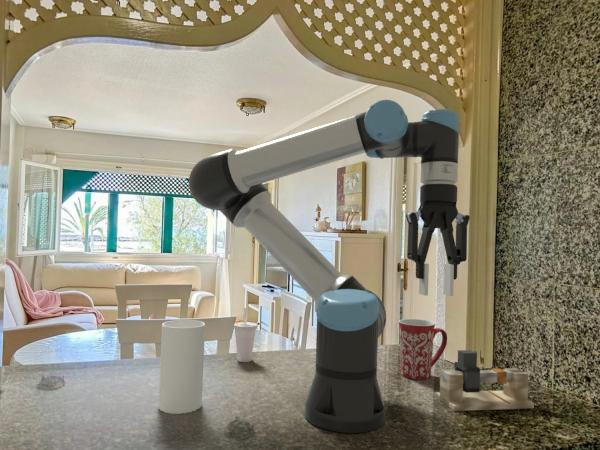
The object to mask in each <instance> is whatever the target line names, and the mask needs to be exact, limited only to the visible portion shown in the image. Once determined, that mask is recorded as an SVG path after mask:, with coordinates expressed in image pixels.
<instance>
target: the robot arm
mask: <svg viewBox="0 0 600 450" xmlns="http://www.w3.org/2000/svg"><path fill="white" fill-rule="evenodd" d="M459 125H460V124H459V115H458V113H456V111H454V110H451V109H446V108H438V109H437V108H435V109H431V110H427V111H426V112H424V113H423V114H422V118H421V121H414V122H411V121H409V119H408V116H407V114H406V112H405V111H404V108H403V107H402V105H400V104H399V103H398V102H396V101H394V100H391V99H381V100H377V101H376V102H374V103H373V104H372V105H370V106H369V108H367V110H366V111H364V112H361V113H359V114H355V115H353V116H350V117H346V118H343V119H340V120H337V121H333V122H330V123H326V124H324V125H321V126H317V127H313V128H311V129H308V130H305V131H304V130H303V131H301V132H298V133H295V134H292V135H289V136H285V137H282V138H279V139H275V140H271V141H269V142H266V143H263V144H260V145H256V146H253V147H250V148H247V149H243V150H238V149H237V148H229V149H227V150H223V151H220V152H217V153H215V154H214V153H213V154H211V155H209V156H206V157H203V158H202V159H201V160H199V161H198V162H197V163H196V164H195V165H194V166H193V167H192V169H191V171H190V174H189V178H188V187H189V188H188V189H189V191H190V193H191V196H192V198H193V200H194V201H196V203H198V204H199V205H201V206H202V207H203V208H205V209H208V210H209V209H210V210H214V211H219V212H220V213H221V214H223V216H224V217H225V218H226V219H227V220H228V221H229V222H230V223H231V224H232V225H233V226H234V227H235V228H244V229H245V230H247V231H248V233H249V234H250V235H251V236H252V237H253V238H254V239H255V240H256V241H257V242H258V243H259V245H261V247H263V248H264V249H265V251H266V252H267V253H269V255H270V256H271V257H272V258H273V259H275V261H276V262H277V263H278V265H280V266H281V267H282V268H283V270H285V271H286V273H287V274H288V275H289V276H290V277H291V278H293V280H294V281H295V282H296V283H297V284H298V286H299V287H301V288H302V289H303V291H305V293H306V294H307V295H308V296H310V298H311V299H312V300H313V301H314V312H315V313H316V338H315V339H316V344H315V372H314V373H315V374H314V376H313V379H312V382H311V385H310V388H309V391H308V392H307V393H308V394H307V396H306V399H305V402H304V403H305V404H304V417H305V419H306V420H307V421H308V422H309V423H310V424H312V425H314V426H316V427H318V428H321V429H324V430H327V431H332V432H337V433H348V434H357V433H358V434H359V433H360V434H361V433H367V432H372V431H375V430H377V429H379V428H381V427H382V426H383V425H384V424H385V421H386V407H385V406H386V405H385V403H384V400H383V396H382V393H381V389H380V386H379V382H378V376H377V373H378V345H379V343H378V341H379V337H380V336H381V335H382V333H383V332H384V330H385V326H386V324H387V312H386V308H385V305H384V302H383V301H382V300H381V299H380V297H379V296H378V295H377V294H376V293H374V292H373V291H372V290H369V289H368V288H367V289H366V287H365V286H364V285H363V284H362V283H360V282H359V280H357V278H356V277H355V276H353V274H342V273H341V272H340V271H339V270H338V269H337V268H336V267H335V266H334V265H333V264H332V263H331V262H330V260H328V259H327V257H325V256H324V255H323V254H322V253H321V252H320V251H319V250H318V248H316V247H315V246H314V245H313V244H312V243H311V242H310V240H309V239H308V238H307V237H306V236H305V235H303V233H302V232H300V230H299V229H298V228H297V227H296V226H295V225H294V224H293V223H292V222H291V221H290V220H289V219H288V218H287V217H286V216H285V215H284V214H283V213H282V212H281V211H280V210H279V209H278V208H277V207H276V206H275V205H274V204H273V203H272V193H271V192H270V191H269V190H268V188H266V187H265V186H264V185H263V183H266V182H270V181H273V180H277V179H281V178H284V177H287V176H290V175H294V174H297V173H302V172H305V171H308V170H311V169H314V168H317V167H321V166H324V165H327V164H331V163H334V162H338V161H342V160H345V159H348V158H351V157H355V156H358V155H361V154H365V156H367V157H368V158H371V159H372V158H376V159H377V158H379V159H390V158H393V159H394V158H420V160H421V161H420V162H421V163H420V183H421V184H422V185H421V186H419V187H420V188H419V192H420V193H419V203H420V205H419V207H418V209H417V210H416V211H413V212H407V213H406V214H405V218H406V221H407V247H406V249H407V254H406V258H407V260H410V261H413V262H414V263H415V277H416V279H418V280H419V281H418V294H419V295H421V296H425V297H426V296H429V275H430V274H429V269H430V264H429V263H426V260H427V256H428V252H429V249H430V245H431V241H432V238H433V237H432V236H433V233H434V232H435V231H436V229H439V232H440V233H441V236H442V240H443V241H442V242H443V245H444V250H445V255H446V259H447V263H444V264H443V295H445V296H450V297H453V296H454V280H457V278H458V265H461V263H463V262H466V261H467V258H468V257H467V256H468V247H467V246H468V225H469V223H470V219H471V216H470V215H469V214H463V213H460V212H459V210H458V208H457V202H458V186H457V185H456V183H458V177H459V176H458V174H459V173H458V171H459V170H458V168H459V166H458V165H459V145H460V143H459V141H460V130H459ZM420 219H421V220H422V222H423V225H422V228H421V231H422V232H421V235H420V239H419V222H420ZM454 220H455V223H456V225H455V237H454V227H453V223H454Z"/></svg>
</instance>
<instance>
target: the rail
mask: <svg viewBox="0 0 600 450" xmlns="http://www.w3.org/2000/svg"><path fill="white" fill-rule="evenodd" d="M439 371H440V372H439V373H440V374H439V391H436V392H434V395H435V396H434V397H435V398H436V399H438V400H439V401H440V402H441V403H443V404H444V405H446V407H448V408H449V409H451V410H452V411H453V412H460V411H461V412H463V411H489V410H490V411H491V410H493V411H494V410H520V409H521V410H522V409H535V403H534V402H533V401H531V400H529V399H528V398H529V394H528V393H529V373H527V372H525V371H523V370H521V369H519V368H516V367H512V368H509V367H508V368H503V369H502V368H500V367H499V368H497V367H495V368H491V369H480V383H481V384H482V383H485V384H486V383H487V384H488V383H496V384H497V385H503V390H480V392H465V391H463V383H464V374H465V371H455V370H454V368H453V369H452V368H451V369H449V368H448V369H446V368H445V369H443V368H442V369H440V370H439Z"/></svg>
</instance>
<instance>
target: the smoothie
mask: <svg viewBox="0 0 600 450" xmlns="http://www.w3.org/2000/svg"><path fill="white" fill-rule="evenodd" d="M246 319H247V308H246V307H243V322H241V321H240V322H236V323H234V324H233V329H234V334H235V346H236V347H235V348H236V359H237V362H240V363H247V362H248V363H249V362H251V361H252V357H253V351H254V346H255V345H254V344H255V337H256V333H257V329H258V324H257V323H255V322H249V321H247V320H246Z"/></svg>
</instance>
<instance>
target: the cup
mask: <svg viewBox="0 0 600 450" xmlns="http://www.w3.org/2000/svg"><path fill="white" fill-rule="evenodd" d="M205 332H206V324H205V322H204V321H201V320H196V319H195V320H194V319H178V320H176V319H175V320H174V319H173V320H169V321H165V322H162V324H161V341H160V342H161V343H160V344H161V345H160V365H159V367H160V368H159V385H158V386H159V389H158V409H160V410H159V411H161V412H162V411H163V413H166V414H172V415H179V414H181V415H182V413H183V414H189V413H193V412H195V411H198V410H199V409H200V408H202V405H203V385H204V363H205V361H204V359H205V338H206V336H205V335H206V333H205ZM197 409H198V410H197ZM192 411H193V412H192ZM188 412H189V413H188Z"/></svg>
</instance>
